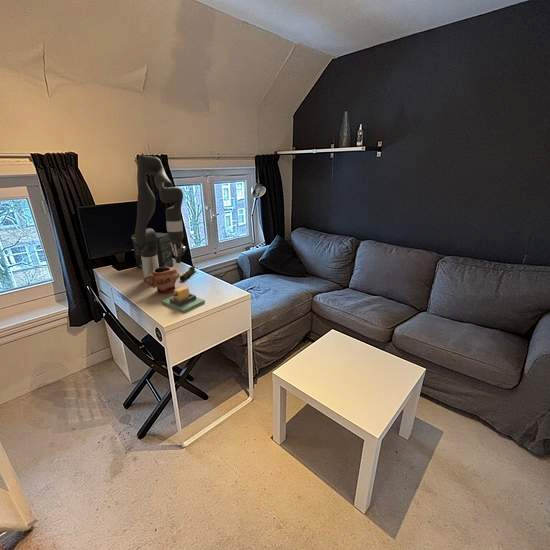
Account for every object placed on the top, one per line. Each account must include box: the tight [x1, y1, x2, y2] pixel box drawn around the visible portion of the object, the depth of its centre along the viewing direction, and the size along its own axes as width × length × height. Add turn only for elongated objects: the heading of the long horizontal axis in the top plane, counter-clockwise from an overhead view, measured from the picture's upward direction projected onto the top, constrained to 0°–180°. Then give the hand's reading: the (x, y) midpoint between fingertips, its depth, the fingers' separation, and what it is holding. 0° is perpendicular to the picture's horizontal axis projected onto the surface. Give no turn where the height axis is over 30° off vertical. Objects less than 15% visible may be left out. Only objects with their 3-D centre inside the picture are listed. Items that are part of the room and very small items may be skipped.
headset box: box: [130, 232, 174, 270], centre depth 208 cm, size 22×12×26 cm, turn 73°
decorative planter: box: [143, 266, 181, 295], centre depth 171 cm, size 20×12×14 cm, turn 131°
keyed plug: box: [172, 285, 190, 302], centre depth 157 cm, size 4×9×7 cm, turn 146°
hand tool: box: [179, 265, 196, 282], centre depth 196 cm, size 19×4×5 cm, turn 169°
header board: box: [161, 292, 206, 314], centre depth 159 cm, size 18×14×4 cm
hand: (178, 262), depth 152 cm, fingers closed
